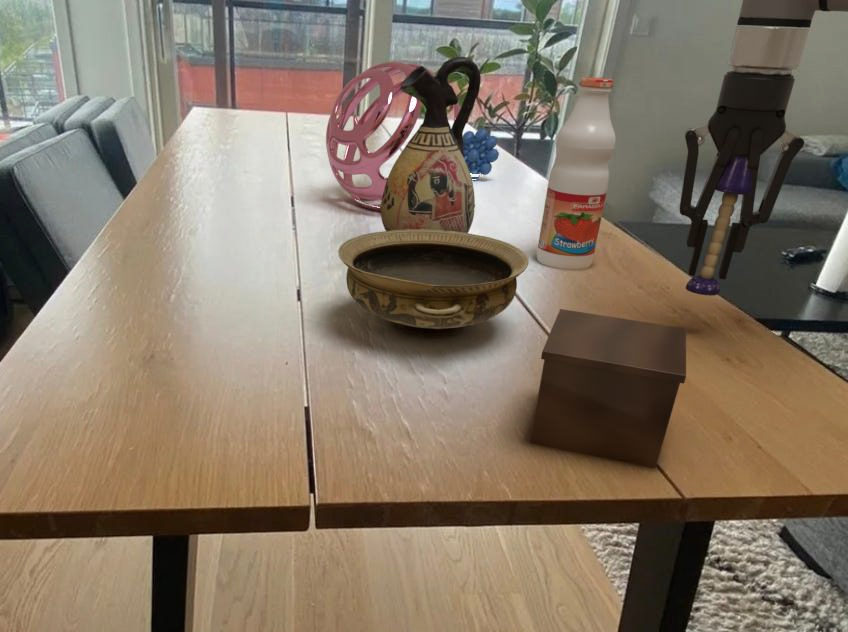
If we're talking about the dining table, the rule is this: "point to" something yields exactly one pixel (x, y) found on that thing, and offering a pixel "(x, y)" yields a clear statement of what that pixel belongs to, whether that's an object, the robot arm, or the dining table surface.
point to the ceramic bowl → (432, 277)
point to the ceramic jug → (433, 158)
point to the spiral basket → (370, 129)
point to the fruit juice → (578, 180)
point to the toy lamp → (722, 222)
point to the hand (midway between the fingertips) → (706, 274)
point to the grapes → (479, 151)
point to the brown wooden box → (608, 386)
